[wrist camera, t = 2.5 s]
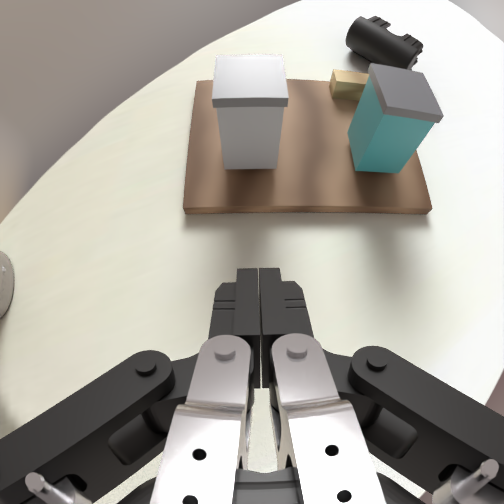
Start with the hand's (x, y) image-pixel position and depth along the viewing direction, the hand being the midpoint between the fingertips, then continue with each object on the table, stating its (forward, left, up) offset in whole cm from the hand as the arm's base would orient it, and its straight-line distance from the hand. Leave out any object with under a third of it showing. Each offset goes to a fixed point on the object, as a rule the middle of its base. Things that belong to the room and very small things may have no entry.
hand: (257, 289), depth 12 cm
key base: (+6, +20, -17) cm, 27 cm away
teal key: (+13, +17, -15) cm, 26 cm away
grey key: (0, +17, -15) cm, 22 cm away
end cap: (+20, +37, -18) cm, 46 cm away
